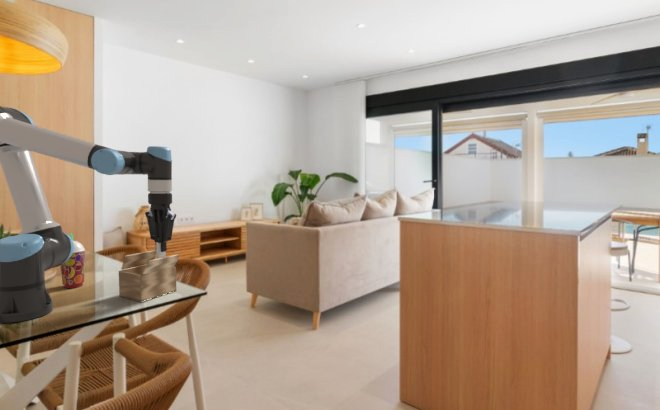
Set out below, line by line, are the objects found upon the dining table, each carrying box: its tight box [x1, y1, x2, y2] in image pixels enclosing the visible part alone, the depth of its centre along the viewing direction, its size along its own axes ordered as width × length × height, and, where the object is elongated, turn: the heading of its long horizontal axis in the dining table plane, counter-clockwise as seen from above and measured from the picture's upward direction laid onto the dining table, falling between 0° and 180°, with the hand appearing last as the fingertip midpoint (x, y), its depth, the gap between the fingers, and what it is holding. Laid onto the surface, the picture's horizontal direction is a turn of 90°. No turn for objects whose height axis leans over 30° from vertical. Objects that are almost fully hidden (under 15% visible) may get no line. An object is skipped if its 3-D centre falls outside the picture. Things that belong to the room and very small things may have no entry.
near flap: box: [143, 253, 181, 274], centre depth 135 cm, size 13×1×6 cm
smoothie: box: [59, 233, 86, 289], centre depth 147 cm, size 8×8×20 cm
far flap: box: [120, 249, 156, 271], centre depth 141 cm, size 13×1×6 cm, turn 152°
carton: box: [118, 264, 177, 302], centre depth 139 cm, size 14×12×9 cm
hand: (161, 260), depth 135 cm, fingers closed
